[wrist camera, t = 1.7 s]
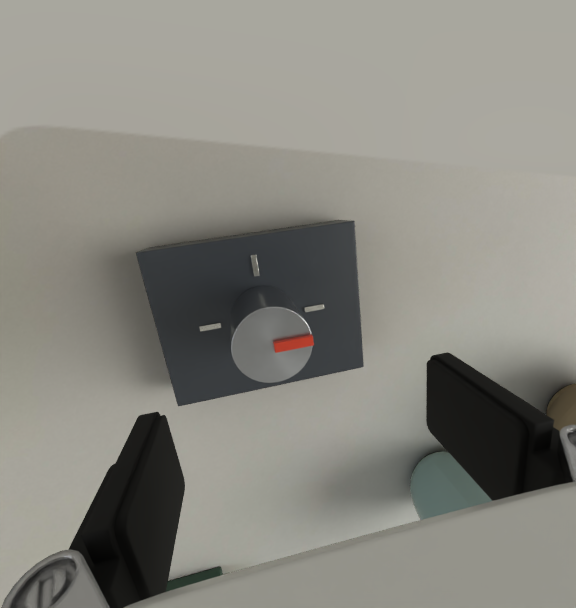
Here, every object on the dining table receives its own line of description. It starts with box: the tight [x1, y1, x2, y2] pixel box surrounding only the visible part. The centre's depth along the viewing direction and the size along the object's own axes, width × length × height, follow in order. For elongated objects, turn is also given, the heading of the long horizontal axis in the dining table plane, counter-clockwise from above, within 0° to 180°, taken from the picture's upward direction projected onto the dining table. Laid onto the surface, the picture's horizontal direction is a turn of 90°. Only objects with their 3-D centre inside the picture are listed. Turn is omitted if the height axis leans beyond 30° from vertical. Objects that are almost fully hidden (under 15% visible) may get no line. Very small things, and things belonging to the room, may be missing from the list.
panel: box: [136, 220, 363, 406], centre depth 23 cm, size 14×11×3 cm
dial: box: [231, 286, 314, 383], centre depth 19 cm, size 4×4×5 cm
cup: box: [410, 451, 492, 520], centre depth 27 cm, size 8×8×10 cm
